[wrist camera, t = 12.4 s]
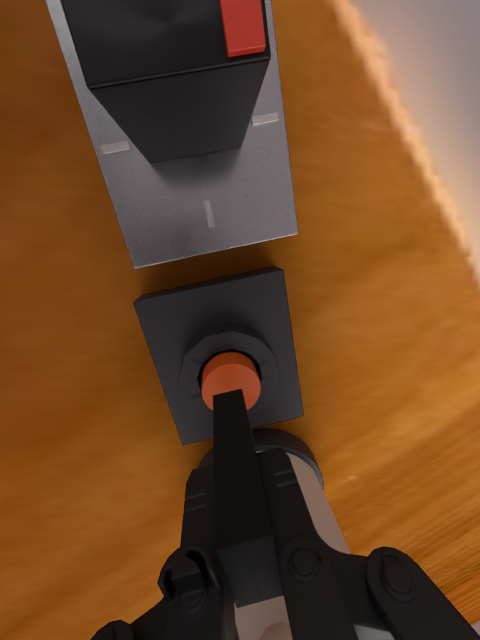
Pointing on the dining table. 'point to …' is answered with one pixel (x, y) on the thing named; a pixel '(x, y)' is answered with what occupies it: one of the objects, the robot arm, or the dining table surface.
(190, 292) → the push button box
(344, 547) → the kettle
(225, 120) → the black switch lever
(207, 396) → the red push button
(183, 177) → the lever switch base
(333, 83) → the dining table surface
